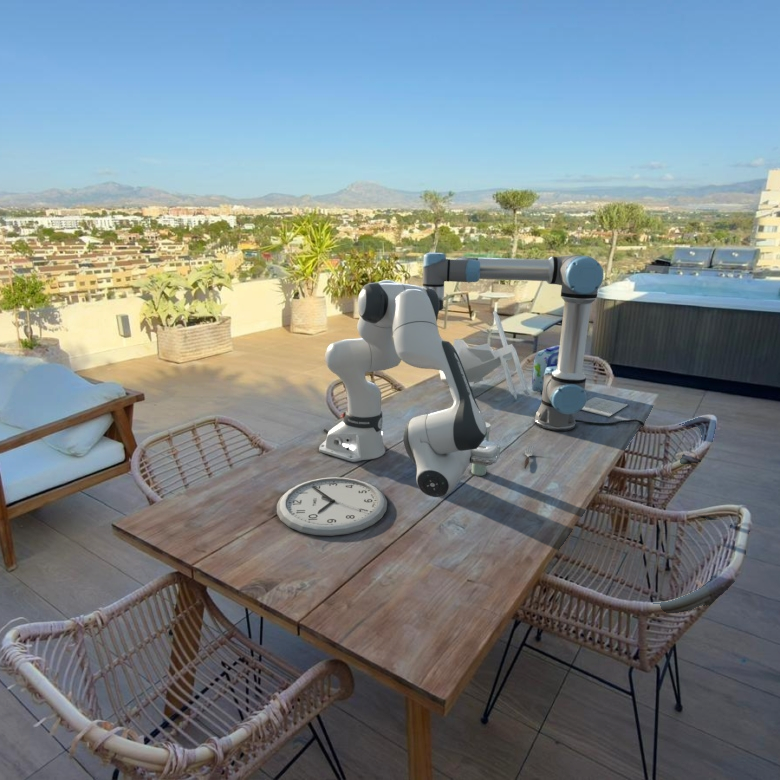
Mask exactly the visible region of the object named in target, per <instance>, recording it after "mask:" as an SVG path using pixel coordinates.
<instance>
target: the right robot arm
mask: <svg viewBox="0 0 780 780" xmlns="http://www.w3.org/2000/svg"><path fill="white" fill-rule="evenodd" d="M422 264H423V265H422V286H424V287H428V288H431V289H433V290H434V291H435V292H436V293H437V295H438V297H439V302H440V307H439V312H440V311H442V310H444V299H443V298H444V297H445V282H447V283H449V282H452V283H453V282H457V283H468V284H470V283H477V282H479V281H480V280H495V281H497V280H499V281H500V280H501V281H526V282H527V281H531V282H546V283H547V284H548V285H557V286H561V289H560V298H561V299H562V300H563V303H564V305H563V313H562V322H561V330H560V339H559V355H558V364H557V366H553V367H547V368H546V369H545V373H544V382H543V392H542V394H541V402H540V405H539V407H538V410H537V411H536V413H535V416H534V424H535V425H536V426H537V427H539V428H542V429H544V430H549V431H556V432H567V431H572V430H574V429H575V428H576V423H580V424H587V425H594V426H595V425H597V426H612V425H613V426H614V425H617V424H621V423H639V424H640V425H642V426H645V423H644V422H643V421H641V420H639V419H622V420H621V419H620V420H616V421H612V422H594V421H587V420H580V419H576V418H575V417H576V416H575V414H576V413H579V412H580V411H582V410H581V409H582V408H583V407H584V406H585V404H586V401H588V397H587V392H586V389H585V388H586V383H587V382H586V381H587V375H586V374H585V373H584V371H583V369H584V361H585V355H586V347H587V339H588V338H587V337H588V330H589V324H590V318H591V317H590V316H591V308H592V303H593V302H594V301H596V300H597V298H598V294H599V293H598V291H599V288H601V285H602V284H603V281H604V269H603V267H602V265H601V264H600V262H599V261H597V260H596V259H595V258H594V257H592V256H587V255H581V254H574V255H573V254H572V255H565V256H551V257H549V258H548V259H545V258H544V259H543V258H542V259H541V258H540V259H539V258H501V257H500V258H497V257H496V258H495V257H494V258H492V257H466V256H460V257H457V258H455V259H451V258H449V259H448V258H447V257H446V253H444V252H427V253H425V254H424V255H423V263H422ZM438 318H439V315H438V316H437V318H436V321H437V322H438Z"/></svg>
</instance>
